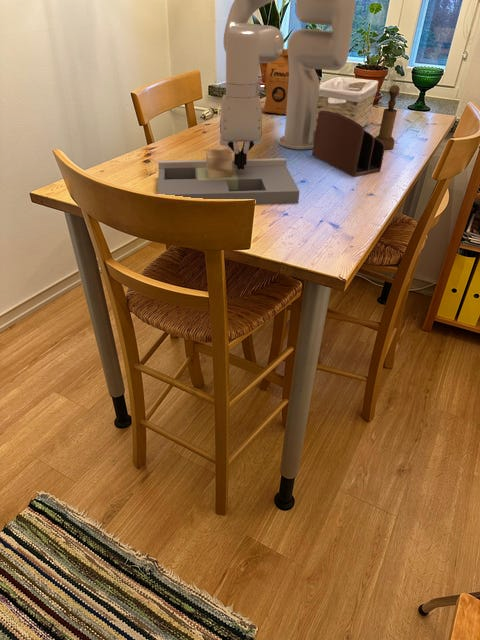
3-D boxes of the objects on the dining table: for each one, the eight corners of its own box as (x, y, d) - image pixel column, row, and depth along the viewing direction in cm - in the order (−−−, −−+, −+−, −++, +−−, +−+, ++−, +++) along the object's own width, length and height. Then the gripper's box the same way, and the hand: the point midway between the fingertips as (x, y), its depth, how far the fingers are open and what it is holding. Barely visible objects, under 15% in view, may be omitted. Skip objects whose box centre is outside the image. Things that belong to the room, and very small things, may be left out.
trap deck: (283, 174, 128) (284, 158, 125) (298, 202, 113) (300, 185, 111) (159, 177, 125) (158, 160, 122) (158, 207, 110) (156, 188, 107)
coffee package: (292, 117, 175) (297, 51, 162) (260, 114, 178) (263, 48, 165) (298, 111, 183) (303, 47, 169) (267, 108, 186) (271, 45, 172)
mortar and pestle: (395, 145, 151) (408, 84, 140) (391, 151, 146) (404, 88, 135) (374, 142, 153) (386, 82, 142) (370, 147, 148) (382, 86, 137)
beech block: (229, 168, 123) (229, 149, 119) (232, 177, 118) (232, 157, 115) (206, 169, 122) (206, 150, 119) (208, 177, 117) (208, 158, 114)
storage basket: (330, 117, 177) (336, 74, 168) (372, 124, 171) (380, 79, 162) (308, 133, 160) (313, 86, 151) (353, 141, 154) (361, 92, 145)
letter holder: (353, 178, 128) (362, 124, 119) (311, 156, 142) (317, 106, 133) (380, 172, 132) (391, 120, 123) (337, 151, 145) (344, 103, 137)
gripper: (270, 86, 112) (266, 162, 124) (209, 87, 111) (210, 163, 122) (276, 93, 107) (271, 172, 118) (211, 94, 105) (212, 173, 116)
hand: (240, 167), depth 120 cm, fingers closed
